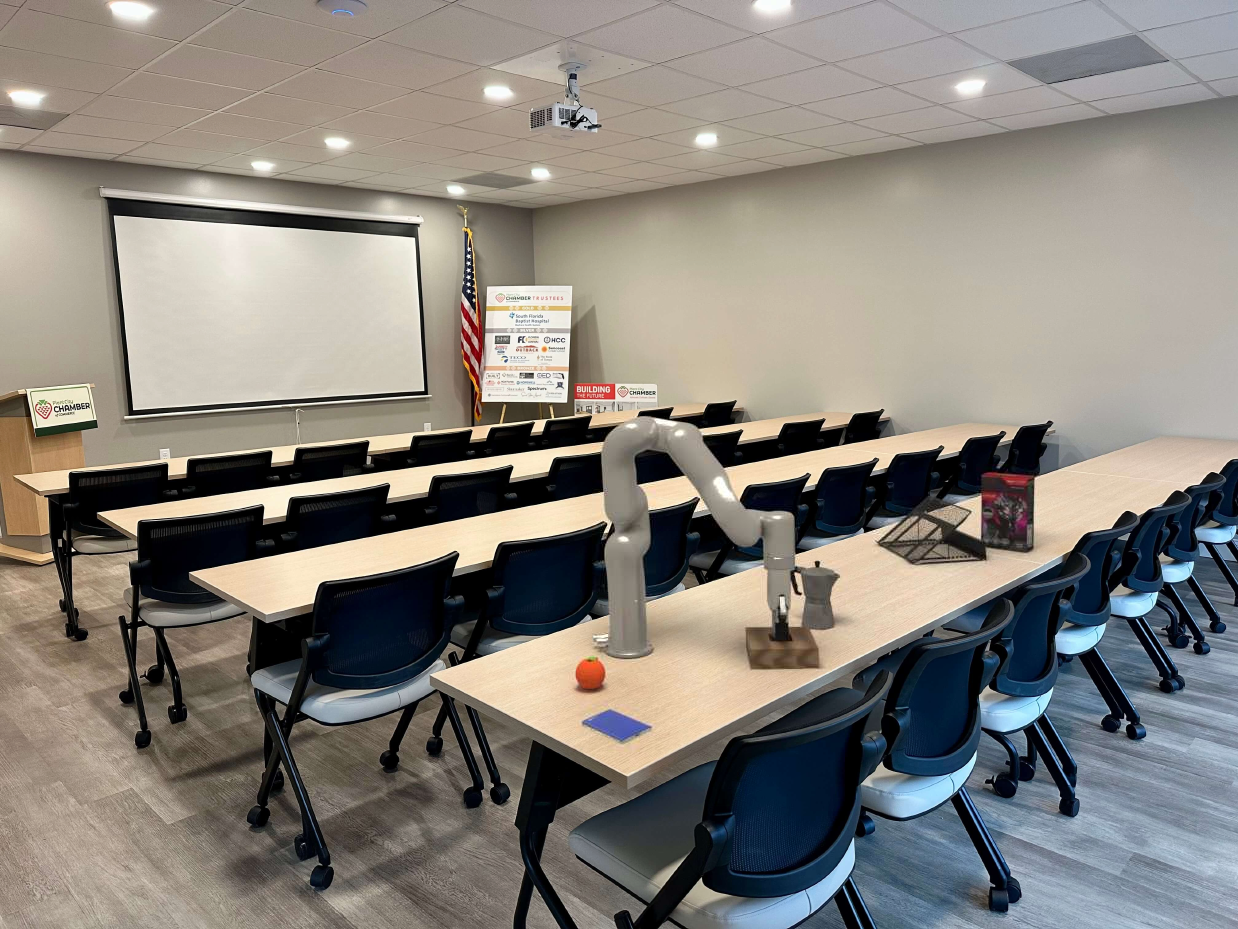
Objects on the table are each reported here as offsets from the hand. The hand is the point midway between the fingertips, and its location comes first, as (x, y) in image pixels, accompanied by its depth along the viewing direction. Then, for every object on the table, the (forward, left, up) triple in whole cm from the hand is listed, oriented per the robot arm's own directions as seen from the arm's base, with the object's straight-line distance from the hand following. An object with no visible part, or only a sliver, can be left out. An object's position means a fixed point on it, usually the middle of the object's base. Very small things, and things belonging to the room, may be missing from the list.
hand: (780, 633), depth 205 cm
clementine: (-45, -18, -6) cm, 49 cm away
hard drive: (-38, -39, -7) cm, 55 cm away
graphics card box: (+94, +108, -6) cm, 143 cm away
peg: (0, 0, -6) cm, 6 cm away
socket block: (0, 0, -6) cm, 6 cm away
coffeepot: (+12, +25, -6) cm, 28 cm away
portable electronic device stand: (+65, +105, -7) cm, 124 cm away
